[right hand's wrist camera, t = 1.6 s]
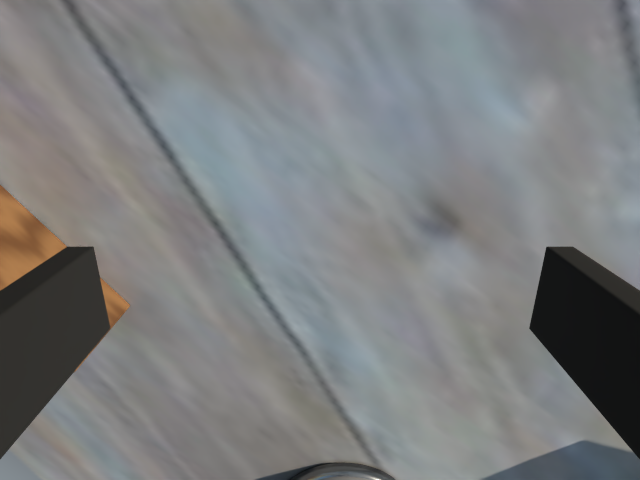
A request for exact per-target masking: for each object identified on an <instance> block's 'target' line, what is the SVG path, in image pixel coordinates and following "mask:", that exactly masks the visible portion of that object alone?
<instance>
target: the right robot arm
mask: <svg viewBox="0 0 640 480" xmlns="http://www.w3.org/2000/svg"><path fill="white" fill-rule="evenodd" d="M110 329H111V328H110V323H109V318H108V314H107V309H106V304H105V299H104V295H103V290H102V285H101V280H100V276H99V271H98V266H97V261H96V257H95V252H94V247H66V248H64V249H63V250H61V251H60V252H58V253H57V254H55V255H54V256H52V257H51V258H49V259H48V260H46V261H45V262H43V263H42V264H40V265H39V266H37V267H36V268H34V269H33V270H31V271H29V272H28V273H26V274H25V275H23V276H22V277H20V278H19V279H17V280H16V281H14V282H13V283H11V284H10V285H8V286H7V287H5V288H4V289H2V290H1V291H0V459H1V458H2V456H3V455H4V454H5V453H6V452H7V451H8V449H9V448H10V447H11V446H12V445H13V443H14V442H15V441H16V440H17V439H18V438H19V436H20V435H21V434H22V433H23V432H24V430H25V429H26V428H27V427H28V426H29V425H30V423H31V422H32V421H33V420H34V419H35V417H36V416H37V415H38V414H39V413H40V411H41V410H42V409H43V408H44V407H45V406H46V404H47V403H48V402H49V401H50V400H51V398H52V397H53V396H54V395H55V394H56V393H57V391H58V390H59V389H60V388H61V387H62V385H63V384H64V383H65V382H66V381H67V379H68V378H69V377H70V376H71V375H72V374H73V372H74V371H75V370H76V369H77V368H78V366H79V365H80V364H81V363H82V362H83V361H84V359H85V358H86V357H87V356H88V355H89V353H90V352H91V351H92V350H93V349H94V347H95V346H96V345H97V344H98V343H99V342H100V340H101V339H102V338H103V337H104V336H105V334H106V333H107V332H108V331H109V330H110ZM529 329H530V330H531V331H532V332H533V333H534V334H535V336H536V337H537V338H538V339H539V340H540V342H541V343H542V344H543V345H544V346H545V348H546V349H547V350H548V351H549V352H550V353H551V355H552V356H553V357H554V358H555V359H556V361H557V362H558V363H559V364H560V365H561V366H562V368H563V369H564V370H565V371H566V372H567V374H568V375H569V376H570V377H571V378H572V379H573V381H574V382H575V383H576V384H577V385H578V387H579V388H580V389H581V390H582V391H583V393H584V394H585V395H586V396H587V397H588V398H589V400H590V401H591V402H592V403H593V404H594V406H595V407H596V408H597V409H598V410H599V411H600V413H601V414H602V415H603V416H604V417H605V419H606V420H607V421H608V422H609V423H610V425H611V426H612V427H613V428H614V429H615V430H616V432H617V433H618V434H619V435H620V436H621V438H622V439H623V440H624V441H625V442H626V443H627V445H628V446H629V447H630V448H631V449H632V451H633V452H634V453H635V454H636V455H637V457H638V458H639V459H640V291H639V290H638V289H636V288H635V287H633V286H632V285H630V284H629V283H627V282H626V281H624V280H623V279H621V278H620V277H618V276H617V275H615V274H614V273H612V272H611V271H609V270H607V269H606V268H604V267H603V266H601V265H600V264H598V263H597V262H595V261H594V260H592V259H591V258H589V257H588V256H586V255H585V254H583V253H582V252H580V251H579V250H577V249H576V248H574V247H546V252H545V257H544V261H543V266H542V271H541V276H540V280H539V285H538V290H537V295H536V299H535V304H534V309H533V314H532V318H531V323H530V328H529ZM290 480H395V479H394V478H393V477H391V476H390V475H388V474H386V473H385V472H383V471H380V470H378V469H375V468H373V467H369V466H366V465H361V464H354V463H332V464H325V465H320V466H317V467H313V468H310V469H308V470H306V471H303V472H301V473H299V474H298V475H296V476H295V477H293V478H292V479H290Z"/></svg>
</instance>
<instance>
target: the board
mask: <svg viewBox="0 0 640 480" xmlns="http://www.w3.org/2000/svg"><path fill="white" fill-rule="evenodd" d="M66 247H67V246H66V245H65V244H63V243H62V242H61V241H60V240H59V239H58V238H57V237H56V236H55V235H54V234H53V233H52V232H50V231H49V230H48V229H47V228H46V227H45V226H44V225H43V224H42V223H41V222H40V221H39V220H38V219H36V218H35V217H34V216H33V215H32V214H31V213H30V212H29V211H28V210H27V209H26V208H25V207H24V206H22V205H21V204H20V203H19V202H18V201H17V200H16V199H15V198H14V197H13V196H12V195H11V194H10V193H8V192H7V191H6V190H5V189H4V188H3V187H2V186H1V185H0V291H1V290H2V289H4V288H5V287H7V286H8V285H10V284H11V283H13V282H14V281H16V280H17V279H19V278H20V277H22V276H23V275H25V274H26V273H28V272H29V271H31V270H33V269H34V268H36V267H37V266H39V265H40V264H42V263H43V262H45V261H46V260H48V259H49V258H51V257H52V256H54V255H55V254H57V253H58V252H60V251H61V250H63V249H64V248H66ZM100 280H101V285H102V290H103V295H104V299H105V304H106V309H107V314H108V318H109V323H110V328H112V327H113V326H114V325H115V323H116V322H117V321H118V320H119V319H120V317H121V316H122V315H123V314H124V313H125V311H126V310H127V309H128V308H129V307H130V305H129V304H128V303H127V302H126V301H125V300H124V299H123V298H122V297H121V296H120V295H118V294H117V293H116V292H115V291H114V290H113V289H112V288H111V287H110V286H109V285H108V284H107V283H105V282H104V281H103V280H102V279H101V278H100ZM109 331H110V330H109ZM109 331H108V332H109ZM108 332H107V333H108ZM107 333H106V334H107ZM106 334H105V335H106ZM104 337H105V336H104ZM104 337H103V338H104ZM103 338H102V339H103ZM102 339H101V340H102ZM101 340H100V341H101ZM99 343H100V342H99ZM99 343H98V344H99ZM98 344H97V345H98ZM97 345H96V346H97ZM96 346H95V347H96ZM95 347H94V348H95ZM93 350H94V349H93ZM93 350H92V351H93ZM92 351H91V352H92ZM91 352H90V353H91ZM90 353H89V354H90ZM88 356H89V355H88ZM88 356H87V357H88ZM87 357H86V358H87ZM86 358H85V359H86ZM85 359H84V360H85ZM83 362H84V361H83ZM83 362H82V363H83ZM82 363H81V364H82ZM81 364H80V365H81ZM80 365H79V366H80ZM79 366H78V368H79ZM78 368H77V369H78ZM77 369H76V370H77ZM76 370H75V371H76ZM75 371H74V372H75ZM74 372H73V373H74Z"/></svg>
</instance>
